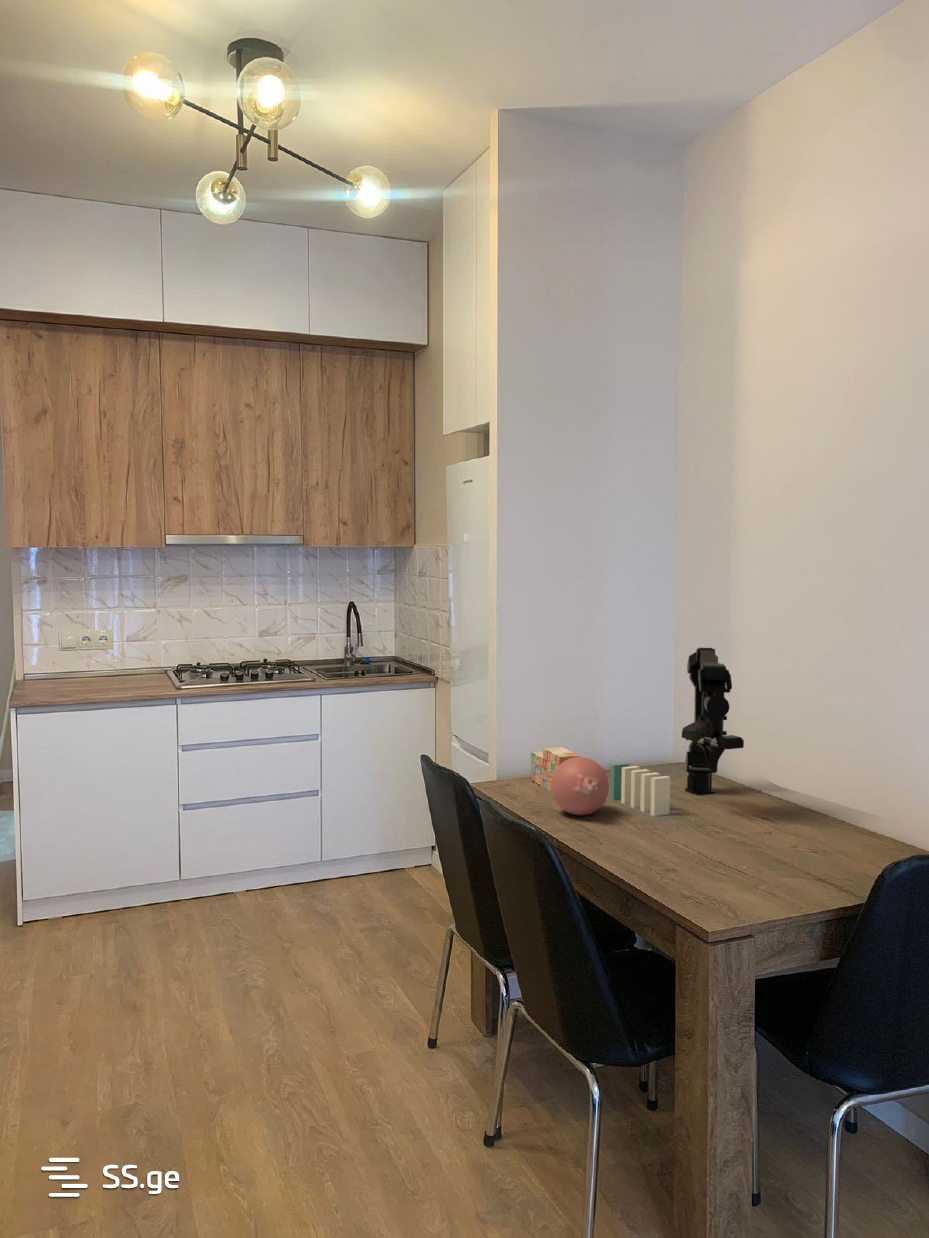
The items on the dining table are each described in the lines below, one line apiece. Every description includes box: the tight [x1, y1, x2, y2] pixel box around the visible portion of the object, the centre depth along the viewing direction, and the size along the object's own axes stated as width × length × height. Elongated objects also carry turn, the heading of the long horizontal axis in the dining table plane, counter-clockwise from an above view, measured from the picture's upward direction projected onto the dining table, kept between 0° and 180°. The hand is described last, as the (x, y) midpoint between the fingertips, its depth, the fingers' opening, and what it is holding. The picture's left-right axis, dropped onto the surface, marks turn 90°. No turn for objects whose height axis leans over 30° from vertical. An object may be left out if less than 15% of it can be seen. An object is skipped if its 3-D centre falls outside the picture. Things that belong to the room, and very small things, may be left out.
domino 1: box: [621, 765, 641, 804], centre depth 260 cm, size 2×5×10 cm, turn 116°
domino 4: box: [650, 775, 671, 816], centre depth 248 cm, size 2×5×10 cm, turn 116°
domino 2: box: [631, 768, 651, 808], centre depth 256 cm, size 2×5×10 cm, turn 116°
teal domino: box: [609, 762, 630, 800], centre depth 264 cm, size 2×5×10 cm, turn 115°
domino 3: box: [640, 772, 661, 812], centre depth 252 cm, size 2×5×10 cm, turn 115°
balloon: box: [551, 756, 610, 816], centre depth 246 cm, size 15×20×15 cm
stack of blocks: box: [530, 746, 580, 791], centre depth 276 cm, size 21×6×12 cm, turn 18°
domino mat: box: [608, 800, 682, 821], centre depth 256 cm, size 8×27×1 cm, turn 25°
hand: (711, 769), depth 250 cm, fingers closed
